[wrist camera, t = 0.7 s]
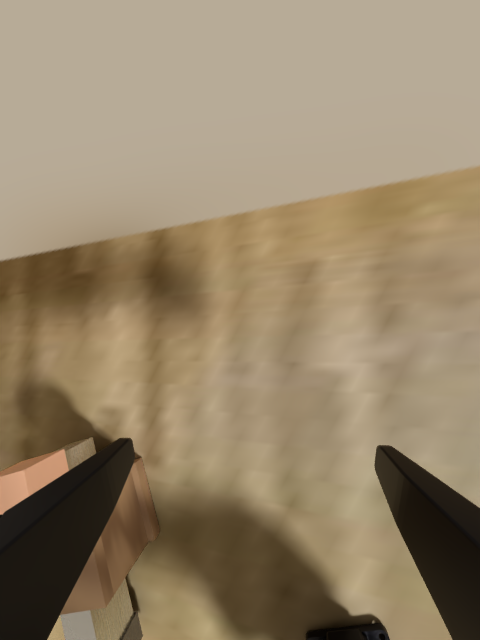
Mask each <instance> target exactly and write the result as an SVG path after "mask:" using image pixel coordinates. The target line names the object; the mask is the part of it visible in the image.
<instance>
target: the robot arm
mask: <svg viewBox="0 0 480 640" xmlns="http://www.w3.org/2000/svg"><path fill="white" fill-rule="evenodd" d="M134 460H135V453H134V447H133V442H132V439H131V438H119V439H118V440H116V441H114V442H113V443H111V444H110V445H108V446H107V447H105V448H104V449H102V450H100V451H99V452H97V453H96V454H94V455H93V456H91V457H90V458H88V459H86V460H85V461H83V462H82V463H80V464H79V465H77V466H75V467H74V468H72V469H71V470H69V471H68V472H66V473H65V474H63V475H61V476H60V477H58V478H57V479H55V480H54V481H52V482H50V483H49V484H47V485H46V486H44V487H43V488H41V489H40V490H38V491H36V492H35V493H33V494H32V495H30V496H29V497H27V498H25V499H24V500H22V501H21V502H19V503H18V504H16V505H15V506H13V507H11V508H10V509H8V510H7V511H5V512H4V513H3V515H2V514H1V515H0V640H47V639H48V637H49V635H50V633H51V631H52V629H53V627H54V625H55V623H56V621H57V619H58V617H59V615H60V613H61V611H62V610H63V608H64V606H65V604H66V602H67V600H68V598H69V596H70V594H71V592H72V590H73V588H74V586H75V584H76V582H77V581H78V579H79V577H80V575H81V573H82V571H83V569H84V567H85V565H86V563H87V561H88V559H89V557H90V555H91V553H92V551H93V550H94V548H95V546H96V544H97V542H98V540H99V538H100V536H101V534H102V532H103V530H104V528H105V526H106V524H107V522H108V521H109V519H110V517H111V515H112V513H113V511H114V509H115V506H116V504H117V502H118V500H119V497H120V495H121V492H122V490H123V488H124V485H125V483H126V480H127V478H128V476H129V473H130V471H131V468H132V466H133V463H134ZM375 471H376V474H377V476H378V479H379V481H380V484H381V486H382V489H383V492H384V494H385V497H386V499H387V502H388V504H389V507H390V510H391V512H392V515H393V517H394V520H395V522H396V524H397V526H398V529H399V531H400V533H401V535H402V537H403V539H404V541H405V543H406V545H407V547H408V549H409V551H410V553H411V555H412V557H413V559H414V562H415V564H416V566H417V568H418V570H419V572H420V574H421V576H422V578H423V580H424V582H425V584H426V586H427V588H428V590H429V592H430V594H431V596H432V598H433V600H434V602H435V604H436V606H437V608H438V610H439V613H440V615H441V617H442V619H443V621H444V623H445V625H446V627H447V629H448V631H449V633H450V635H451V637H452V639H453V640H480V508H479V507H477V506H476V505H475V504H473V503H472V502H470V501H469V500H467V499H466V498H465V497H463V496H462V495H460V494H459V493H458V492H456V491H455V490H453V489H452V488H450V487H449V486H448V485H446V484H445V483H443V482H442V481H440V480H439V479H438V478H436V477H435V476H433V475H432V474H430V473H429V472H428V471H426V470H425V469H423V468H422V467H420V466H419V465H418V464H416V463H415V462H413V461H412V460H411V459H409V458H408V457H406V456H405V455H403V454H402V453H401V452H399V451H398V450H396V449H395V448H393V447H392V446H389V445H379V446H377V449H376V456H375ZM380 633H382V634H380ZM305 637H306V640H390V639H389V636H388V633H387V630H386V628H385V627H384V626H383V625H382V624H379V623H376V624H368V625H359V626H351V627H343V628H334V629H326V630H318V631H310V632H307V633H306V636H305Z"/></svg>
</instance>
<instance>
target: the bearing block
mask: <svg viewBox="0 0 480 640" xmlns="http://www.w3.org/2000/svg"><path fill="white" fill-rule="evenodd" d="M159 532H160V528H159V524H158V520H157V516H156V512H155V509H154V505H153V501H152V497H151V493H150V489H149V485H148V481H147V477H146V473H145V469H144V465H143V461H142V457H141V458H138V459H135V460H134V463H133V466H132V468H131V471H130V473H129V476H128V478H127V480H126V483H125V485H124V488H123V490H122V492H121V495H120V497H119V500H118V502H117V504H116V506H115V509H114V511H113V513H112V515H111V517H110V519H109V521H108V522H107V524H106V526H105V528H104V530H103V532H102V534H101V536H100V538H99V540H98V542H97V544H96V546H95V548H94V550H93V551H92V553H91V555H90V557H89V559H88V561H87V563H86V565H85V567H84V569H83V571H82V573H81V575H80V577H79V579H78V581H77V582H76V584H75V586H74V588H73V590H72V592H71V594H70V596H69V598H68V600H67V602H66V604H65V606H64V608H63V610H62V611H61V613H60V615H63V614H69V613H75V612H82V611H88V610H94V609H101V608H106V607H107V605H108V604H109V602H110V601H111V599H112V598H113V596H114V594H115V593H116V591H117V590H118V588H119V587H120V585H121V583H122V582H123V580H124V579H125V577H126V576H127V574H128V573H129V571H130V569H131V568H132V566H133V565H134V563H135V562H136V560H137V559H138V557H139V555H140V554H141V552H142V551H143V549H144V548H145V546H146V545H147V543H148V542H149V541H154V540H155V539H156V537H157V536H158V534H159Z"/></svg>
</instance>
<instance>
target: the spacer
mask: <svg viewBox="0 0 480 640" xmlns="http://www.w3.org/2000/svg"><path fill="white" fill-rule="evenodd" d="M68 471H69V469H68V464H67V460H66V455H65V450H64V449H62V450H59V451H55V452H52V453H48V454H45V455H41V456H38V457H34V458H31V459H27V460H24V461H21V462H19V463H17V464H15V465H13V466H11V467H9V468H7V469H5V470H3V471H1V472H0V515H1V514H2V515H3V513H4V512H5V511H7V510H8V509H10V508H11V507H13V506H15V505H16V504H18V503H19V502H21V501H22V500H24V499H25V498H27V497H29V496H30V495H32V494H33V493H35V492H36V491H38V490H40V489H41V488H43V487H44V486H46V485H47V484H49V483H50V482H52V481H54V480H55V479H57V478H58V477H60V476H61V475H63V474H65V473H66V472H68Z"/></svg>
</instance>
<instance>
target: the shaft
mask: <svg viewBox="0 0 480 640" xmlns="http://www.w3.org/2000/svg"><path fill="white" fill-rule="evenodd" d="M62 449H64V450H65V455H66V460H67V464H68V469H69V470H71V469H72V468H74V467H75V466H77V465H79V464H80V463H82V462H83V461H85V460H86V459H88V458H90V457H91V456H93V455H94V454H96V450H95V445H94V441H93V437H90V438H87V439H84V440H80V441H77V442H73V443H70V444H68V445H66V446H64V447H62V448H60V449H58V450H56V451H59V450H62ZM54 452H55V451H54ZM60 616H61V621H62V626H63V631H64V636H65V640H141V639H142V636H143V635H142V630H141V626H140V622H139V618H138V613H137V612H133V609H132V605H131V600H130V596H129V592H128V587H127V583H126V579H124V580H123V582H122V583H121V585H120V587H119V588H118V590H117V591H116V593H115V594H114V596H113V598H112V599H111V601H110V602H109V604H108V605H107V607H106V608H101V609H94V610H88V611H82V612H75V613H69V614H63V615H60Z"/></svg>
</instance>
